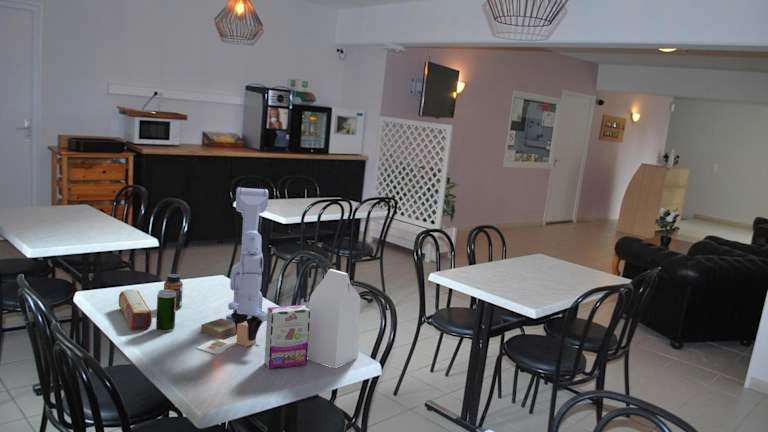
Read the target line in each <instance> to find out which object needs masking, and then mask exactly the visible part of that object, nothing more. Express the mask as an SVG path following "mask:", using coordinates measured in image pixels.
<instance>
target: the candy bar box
mask: <svg viewBox="0 0 768 432" xmlns="http://www.w3.org/2000/svg"><path fill="white" fill-rule="evenodd" d="M266 313H267V321H266V330H265V331H266V332H265V344H264V345H265V347H264V364H265V365H266V367H267V369H269V370H276V369H284V368H285V367H286V368H294V367H299V366H307V364H308V359H307V352H308V337H309V325H310V309H309V306H308V307H307V305H305V304H300V305H285V306H271V307H267V311H266Z"/></svg>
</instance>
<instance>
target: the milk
mask: <svg viewBox="0 0 768 432" xmlns="http://www.w3.org/2000/svg"><path fill="white" fill-rule="evenodd" d="M350 281H351V280H350V277H349V274H348V273H347V272H343V271H340V270H336V269H333V268H330V269H328V270H327V272H326V273H325V276H324V278H323V279H322V280H321V281H320V283H318V285H317V286H316V288H315V289H314V290H313V292H312V293H311V295H310V297H309V303H308V308H309V309H310V325H309V337H308V352H307V358H308V359H307V360H309V359H310V360H309V361H311V360H313V361H312V362H314V361H316V362H315V363H317V362H319V363H322V364H325V365H328V366H331V367H333V368H336V367H338V366H340V365H342V364H344V363H346V364H348V363H350V362H352V361H353V359H354V360H356V359H358V358H359V343H360V342H359V341H360V320H361V295H360V293H358V291H357V290H356V289H355V287H354V286H353V285H352V284H351V282H350ZM357 357H358V358H357ZM355 358H356V359H355ZM351 360H352V361H351ZM349 361H350V362H349ZM347 362H348V363H347ZM319 363H318V364H319ZM322 364H321V365H322ZM325 365H324V366H325ZM344 365H345V364H344ZM342 366H343V365H342ZM333 368H332V369H333Z"/></svg>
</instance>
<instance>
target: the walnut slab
mask: <svg viewBox="0 0 768 432" xmlns="http://www.w3.org/2000/svg"><path fill="white" fill-rule="evenodd" d="M200 333H201V334H203V335H206V336H208V337H212V339H215V338H218V339H222V340H225V339H226V338H229V337H232V336H235V335H237V330H236V326H235V323H234V321H233V322H232V321H230V320H227V319H224V318H218V319H214V320H211V321H207V322H205V323H202V324H201V328H200Z"/></svg>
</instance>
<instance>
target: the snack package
mask: <svg viewBox="0 0 768 432" xmlns="http://www.w3.org/2000/svg"><path fill="white" fill-rule="evenodd" d="M118 295H119V296H118V306H119V308H120V309H121V312H122V313H123V315H124V317H125V318H126V321H127V322H128V325H129V327H130V329H131V330H132V331H141V330H147V329H149V328H150V327H151V325H152V322H153V321H152V320H153V313H152V311H151V309H150V308H149V306H148V305H147V303H146V302H145V300H144V298H143V297H142V295H141V293H140V291H139V290H137V289H132V288H131V289H124V290H122V291H121V292H120V293H119V294H118Z"/></svg>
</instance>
